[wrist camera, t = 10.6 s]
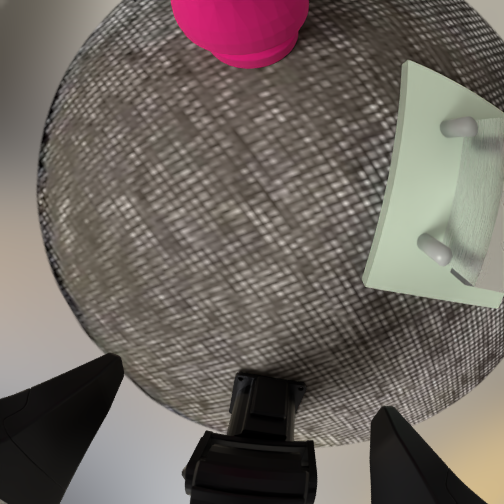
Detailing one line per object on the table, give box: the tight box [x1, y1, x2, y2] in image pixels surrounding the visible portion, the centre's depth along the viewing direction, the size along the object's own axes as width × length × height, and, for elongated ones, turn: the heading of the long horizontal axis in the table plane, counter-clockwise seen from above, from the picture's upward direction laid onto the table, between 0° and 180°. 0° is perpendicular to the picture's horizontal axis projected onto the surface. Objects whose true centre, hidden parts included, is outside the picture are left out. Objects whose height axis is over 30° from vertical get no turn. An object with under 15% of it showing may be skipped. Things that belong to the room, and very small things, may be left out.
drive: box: [442, 117, 504, 293], centre depth 12 cm, size 10×5×5 cm, turn 172°
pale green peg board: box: [362, 60, 504, 309], centre depth 13 cm, size 16×15×4 cm
